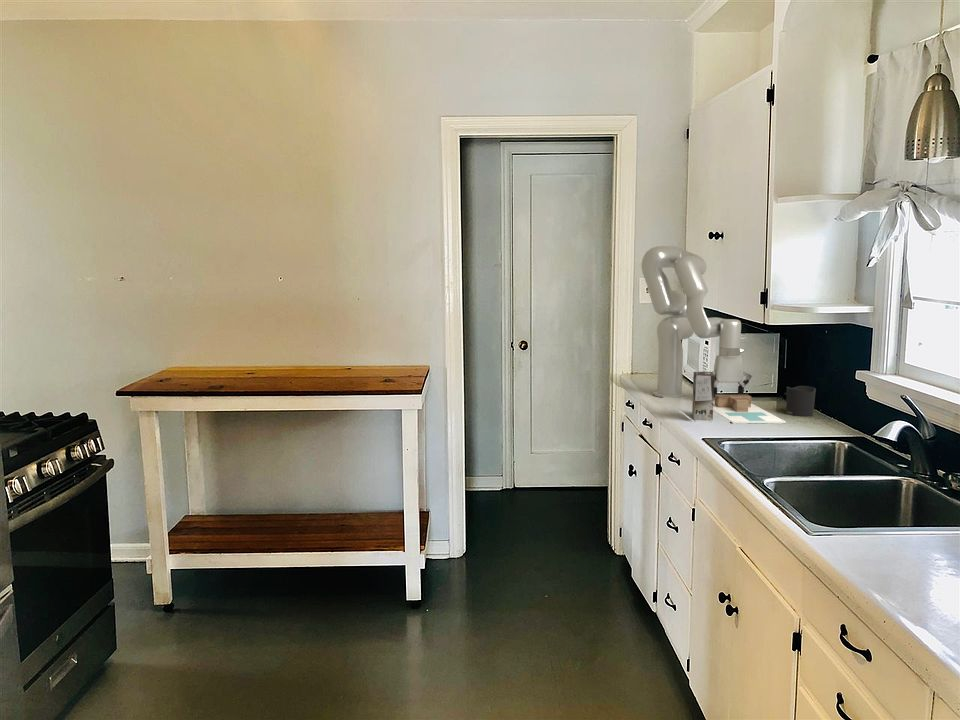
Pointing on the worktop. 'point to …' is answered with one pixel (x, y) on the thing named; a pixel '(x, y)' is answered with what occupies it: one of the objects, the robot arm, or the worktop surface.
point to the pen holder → (800, 401)
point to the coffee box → (703, 396)
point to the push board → (747, 415)
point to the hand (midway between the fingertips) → (727, 397)
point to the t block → (734, 402)
